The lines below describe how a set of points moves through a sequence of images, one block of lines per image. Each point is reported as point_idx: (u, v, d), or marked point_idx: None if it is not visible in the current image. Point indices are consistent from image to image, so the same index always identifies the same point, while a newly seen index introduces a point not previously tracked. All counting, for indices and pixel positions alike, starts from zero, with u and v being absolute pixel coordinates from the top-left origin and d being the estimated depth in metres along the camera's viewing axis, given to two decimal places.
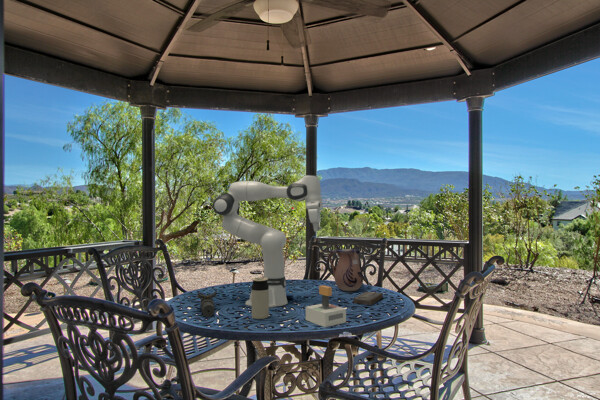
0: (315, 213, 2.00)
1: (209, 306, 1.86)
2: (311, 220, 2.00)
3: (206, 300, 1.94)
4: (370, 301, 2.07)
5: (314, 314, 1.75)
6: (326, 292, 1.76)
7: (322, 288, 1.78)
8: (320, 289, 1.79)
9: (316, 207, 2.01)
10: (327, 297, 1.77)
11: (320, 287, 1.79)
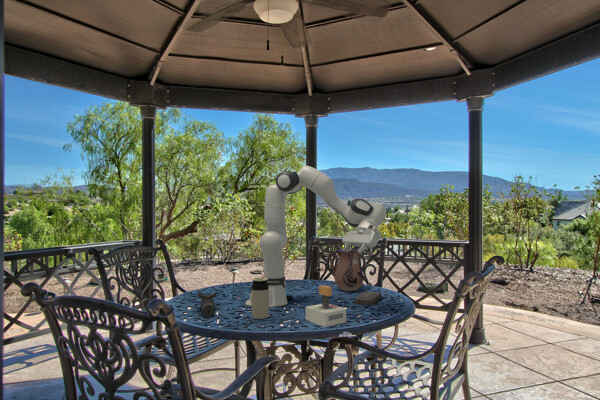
0: (377, 240, 1.85)
1: (209, 306, 1.86)
2: (371, 242, 1.82)
3: (206, 300, 1.94)
4: (372, 301, 2.07)
5: (314, 314, 1.75)
6: (326, 292, 1.76)
7: (322, 288, 1.78)
8: (320, 289, 1.79)
9: (379, 236, 1.87)
10: (327, 297, 1.77)
11: (320, 287, 1.79)
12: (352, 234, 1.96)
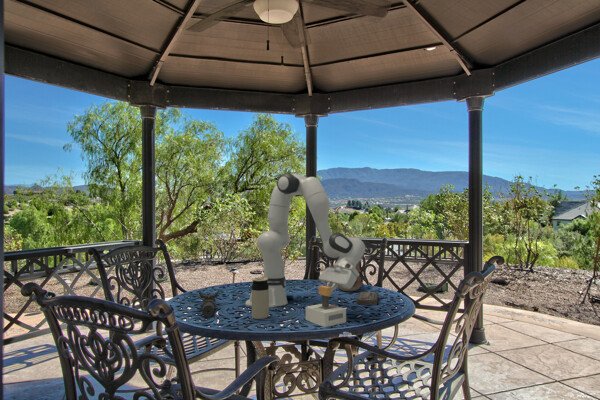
0: (354, 280, 1.76)
1: (209, 306, 1.86)
2: (348, 283, 1.73)
3: (207, 300, 1.94)
4: (375, 301, 2.07)
5: (314, 314, 1.75)
6: (325, 292, 1.76)
7: (321, 288, 1.78)
8: (320, 289, 1.79)
9: (356, 275, 1.78)
10: (327, 297, 1.77)
11: (319, 287, 1.79)
12: (329, 272, 1.87)
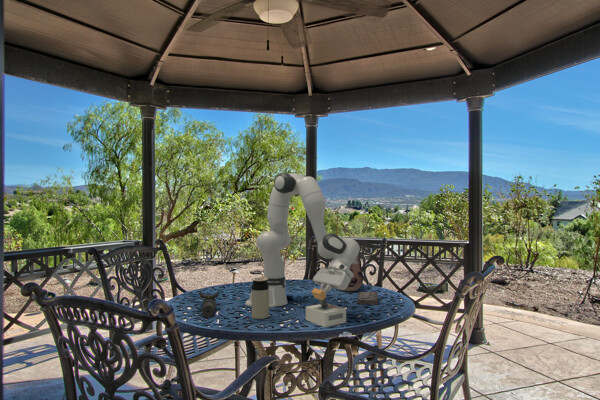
0: (348, 281, 1.74)
1: (209, 306, 1.86)
2: (342, 284, 1.71)
3: (207, 300, 1.94)
4: (376, 301, 2.08)
5: (314, 314, 1.75)
6: (320, 297, 1.74)
7: (315, 293, 1.76)
8: (314, 294, 1.77)
9: (350, 276, 1.76)
10: None
11: (313, 292, 1.77)
12: (323, 273, 1.85)
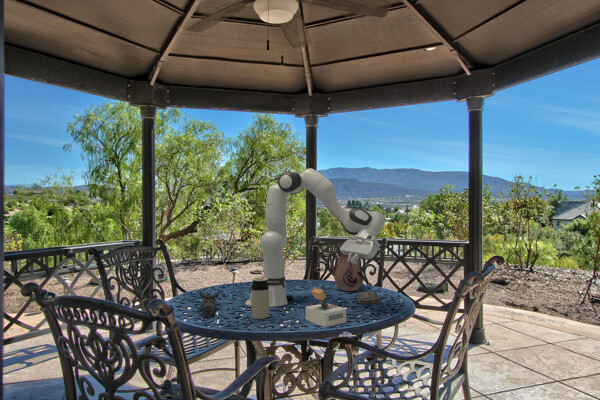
0: (376, 251, 1.85)
1: (209, 306, 1.85)
2: (370, 253, 1.83)
3: (207, 300, 1.94)
4: (378, 300, 2.08)
5: (314, 314, 1.75)
6: (320, 297, 1.74)
7: (315, 293, 1.76)
8: (313, 294, 1.77)
9: (377, 246, 1.88)
10: None
11: (313, 292, 1.77)
12: (350, 243, 1.96)
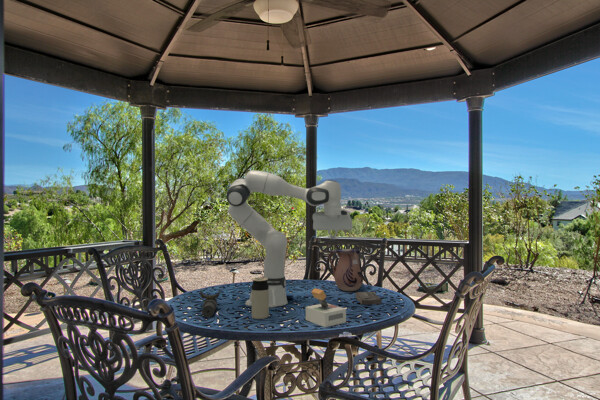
0: None
1: (209, 306, 1.85)
2: (352, 227, 2.00)
3: (208, 300, 1.94)
4: (380, 300, 2.09)
5: (314, 314, 1.75)
6: (320, 297, 1.74)
7: (315, 293, 1.76)
8: (313, 294, 1.77)
9: None
10: None
11: (313, 292, 1.77)
12: (322, 220, 2.02)
